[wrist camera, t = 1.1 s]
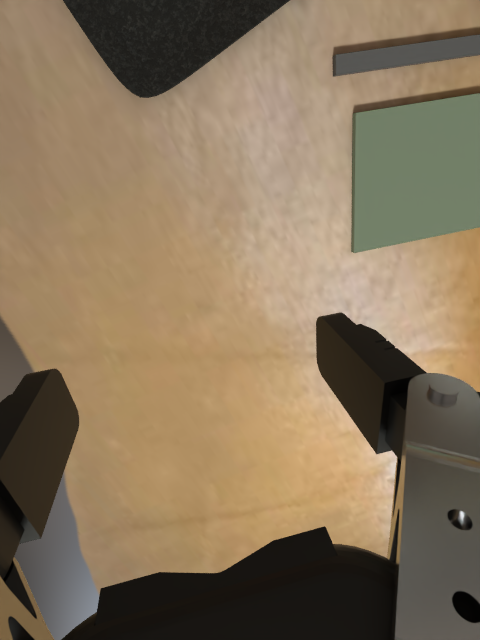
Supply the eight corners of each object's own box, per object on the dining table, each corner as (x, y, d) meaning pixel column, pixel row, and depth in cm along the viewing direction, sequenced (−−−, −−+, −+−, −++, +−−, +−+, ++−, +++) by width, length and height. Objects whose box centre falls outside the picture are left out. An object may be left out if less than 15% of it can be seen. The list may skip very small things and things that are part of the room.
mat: (352, 113, 32) (355, 113, 32) (514, 87, 34) (519, 86, 34) (351, 251, 39) (353, 253, 38) (487, 223, 40) (491, 224, 40)
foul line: (332, 56, 30) (335, 54, 29) (543, 26, 32) (550, 24, 32) (333, 76, 31) (335, 74, 30) (539, 46, 33) (545, 44, 32)
